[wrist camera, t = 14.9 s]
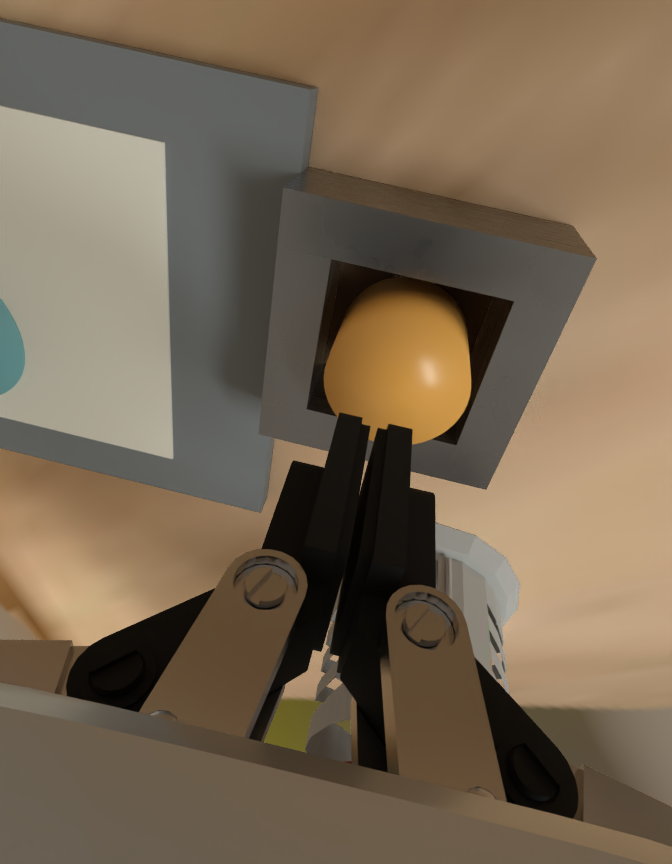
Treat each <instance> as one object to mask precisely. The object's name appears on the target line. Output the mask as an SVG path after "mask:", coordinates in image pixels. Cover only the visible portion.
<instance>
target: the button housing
mask: <svg viewBox="0 0 672 864" xmlns="http://www.w3.org/2000/svg"><path fill="white" fill-rule="evenodd" d="M596 259H597V258H596V257H595V255H594V254H593V253H592V251H591V250H590V249H589V247H588V246H587V244H586V243H585V242H584V240H583V239H582V238H581V236H580V235H579V233H578V232H577V231H576V229H575V228H574V227H573V226H570V225H566V224H561V223H557V222H552V221H548V220H543V219H539V218H534V217H530V216H525V215H521V214H517V213H512V212H508V211H503V210H499V209H494V208H490V207H485V206H481V205H476V204H472V203H468V202H463V201H459V200H454V199H450V198H445V197H441V196H436V195H432V194H428V193H423V192H419V191H414V190H410V189H405V188H401V187H396V186H392V185H387V184H383V183H379V182H374V181H370V180H365V179H361V178H356V177H352V176H347V175H343V174H339V173H334V172H330V171H325V170H321V169H316V168H312V167H307V168H306V169H305V170H304V171H302V172H301V173H300V174H299V175H298V176H296V177H295V178H294V179H293V180H292V181H290V182H289V183H288V184H287V185H286V186H284V187H283V194H282V204H281V214H280V224H279V234H278V244H277V254H276V264H275V274H274V284H273V294H272V304H271V314H270V324H269V334H268V344H267V354H266V363H265V373H264V383H263V393H262V403H261V413H260V423H259V433H258V434H260V435H264V436H268V437H272V438H276V439H280V440H284V441H288V442H293V443H297V444H301V445H305V446H309V447H313V448H317V449H321V450H325V451H329V449H330V446H331V442H332V438H333V434H334V430H335V427H336V423H337V419H338V417H337V416H336V414H335V413H334V411H333V410H332V408H331V406H330V404H329V402H328V400H327V397H326V393H325V388H324V371H325V365H324V360H325V355H326V349H327V344H328V338H329V332H330V327H331V321H332V316H333V310H334V305H335V299H336V293H337V288H338V282H339V277H340V271H341V265H342V262H346V263H350V264H355V265H359V266H363V267H368V268H372V269H376V270H381V271H385V272H389V273H394V274H398V275H402V276H407V277H411V278H415V279H420V280H424V281H428V282H433V283H437V284H441V285H446V286H450V287H454V288H459V289H463V290H467V291H472V292H476V293H480V294H485V295H489V296H492V299H491V302H490V304H489V307H488V310H487V313H486V315H485V318H484V321H483V323H482V326H481V329H480V331H479V334H478V337H477V339H476V342H475V345H474V347H473V350H472V353H471V356H470V370H471V393H470V398H469V401H468V404H467V406H466V408H465V410H464V412H463V414H462V415H461V417H460V418H459V419H458V420H457V422H456V423H455V424H454V425H453V426H452V427H450V428H449V429H448V430H447V431H445V432H444V433H442V434H441V435H439V436H437V437H435V438H433V439H431V440H428V441H425V442H422V443H417V444H412V454H411V471H412V472H416V473H420V474H424V475H428V476H432V477H436V478H440V479H445V480H449V481H453V482H457V483H461V484H465V485H469V486H473V487H477V488H482V489H487V487H488V485H489V483H490V481H491V479H492V476H493V474H494V472H495V470H496V468H497V466H498V464H499V462H500V460H501V458H502V456H503V454H504V451H505V449H506V447H507V445H508V443H509V441H510V439H511V437H512V435H513V433H514V431H515V428H516V426H517V424H518V422H519V420H520V418H521V416H522V414H523V412H524V410H525V408H526V405H527V403H528V401H529V399H530V397H531V395H532V393H533V391H534V389H535V387H536V385H537V382H538V380H539V378H540V376H541V374H542V372H543V370H544V368H545V366H546V364H547V362H548V359H549V357H550V355H551V353H552V351H553V349H554V347H555V345H556V343H557V341H558V339H559V336H560V334H561V332H562V330H563V328H564V326H565V324H566V322H567V320H568V318H569V316H570V313H571V311H572V309H573V307H574V305H575V303H576V301H577V299H578V297H579V295H580V293H581V290H582V288H583V286H584V284H585V282H586V280H587V278H588V276H589V274H590V272H591V270H592V268H593V265H594V263H595V261H596ZM373 443H374V441H371V440H369V439H368V445H367V451H366V457H365V460H367V461H369V457H370V454H371V450H372V447H373Z"/></svg>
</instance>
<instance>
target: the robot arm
mask: <svg viewBox="0 0 672 864" xmlns="http://www.w3.org/2000/svg"><path fill="white" fill-rule="evenodd" d="M362 419H363V418H362V417H358V416H354V415H349V414H345V413H341V412H339V415H338V419H337V423H336V427H335V430H334V434H333V438H332V442H331V446H330V449H329V453H328V457H327V461H326V464H325V468H323V467H319V466H315V465H310V464H306V463H302V462H297V461H293V462H292V464H291V466H290V469H289V472H288V475H287V478H286V481H285V483H284V486H283V489H282V492H281V495H280V498H279V501H278V503H277V506H276V509H275V512H274V515H273V518H272V520H271V523H270V526H269V529H268V532H267V535H266V538H265V540H264V543H263V546H262V549H257V550H254V551H250V552H246V553H245V554H243V555H241V556H240V557H238V558H236V559H235V560H234V561H233V563H232V564H231V565H230V566H229V567H228V569H227V570H226V572H225V574H224V575H223V577H222V578H221V580H220V582H219V583H218V585H217V587H216V588H214V589H212V590H210V591H208V592H205V593H203V594H201V595H199V596H196V597H194V598H192V599H190V600H187V601H185V602H183V603H181V604H178V605H176V606H174V607H172V608H169V609H167V610H165V611H163V612H160V613H158V614H156V615H154V616H152V617H149V618H147V619H145V620H143V621H140V622H138V623H136V624H134V625H131V626H129V627H127V628H125V629H122V630H120V631H118V632H116V633H113V634H111V635H109V636H107V637H104V638H102V639H101V640H99V641H97V642H96V643H94V644H92V645H91V646H73V643H72V640H0V864H672V807H671V806H669V805H667V804H665V803H663V802H660V801H658V800H656V799H654V798H652V797H650V796H648V795H646V794H644V793H642V792H640V791H638V790H636V789H634V788H632V787H630V786H628V785H626V784H623V783H621V782H619V781H617V780H615V779H613V778H611V777H609V776H607V775H605V774H603V773H601V772H599V771H596V770H595V769H593V768H590V767H589V766H586V765H583V766H581V767H580V768H577V767H575V766H573V765H571V764H569V763H568V762H567V760H566V759H565V757H564V756H563V755H562V753H561V752H560V751H559V749H558V748H557V747H556V746H555V745H554V744H553V742H551V740H550V739H549V738H548V737H547V736H546V735H545V734H544V733H543V731H542V730H541V729H540V728H539V727H538V726H537V725H536V724H535V723H534V722H533V720H532V719H531V718H530V717H529V716H528V715H527V714H526V713H525V712H524V711H523V709H522V708H521V707H520V706H519V705H518V704H517V703H516V702H515V701H514V700H513V698H512V697H511V696H510V695H509V694H508V693H507V692H506V691H505V690H504V689H503V687H502V686H501V685H500V684H499V683H498V682H497V681H496V680H495V679H494V677H493V676H492V675H491V674H490V673H489V672H488V671H487V670H486V669H485V668H484V666H483V665H482V664H481V663H480V662H479V661H478V660H477V659H476V658H475V657H474V653H473V648H472V644H471V640H470V635H469V631H468V626H467V623H466V620H465V617H464V615H463V612H462V611H461V610H460V608H459V607H458V606H457V604H456V603H455V602H454V601H453V600H452V599H451V598H450V597H448V596H447V595H446V594H445V593H443V592H441V591H439V590H437V589H436V542H435V495H434V493H431V492H426V491H422V490H418V489H414V488H410V473H411V454H412V434H413V430H412V429H410V428H406V427H402V426H397V425H393V424H388V426H387V429H382V428H378V429H377V432H376V436H375V439H374V443H373V447H372V450H371V454H370V457H369V461H368V465H367V468H366V472H365V476H364V479H363V483H362V487H361V490H360V486H361V480H362V474H363V468H364V462H365V457H366V451H367V445H368V439H369V433H370V427H371V426H369V425H364V424H362ZM359 492H360V494H359ZM341 581H342V583H341ZM340 585H341V589H340V595H339V601H338V606H337V612H336V618H335V624H334V630H333V635H332V641H331V647H330V654H333V655H337V656H339V660H338V666H337V673H341V674H340V679H341V681H342V682H343V684H344V685H345V687H346V688H347V689H348V691H349V692H350V694H351V695H352V699H351V706H350V712H351V762H352V764H350V763H346V762H342V761H338V760H334V759H330V758H326V757H321V756H317V755H313V754H309V753H305V752H301V751H296V750H293V749H288V748H284V747H280V746H276V745H272V744H268V743H264V739H265V737H266V734H267V732H268V729H269V727H270V724H271V722H272V719H273V717H274V714H275V712H276V709H277V707H278V704H279V702H280V699H281V697H282V694H283V692H284V689H285V684H286V683H288V682H289V681H291V680H293V679H294V678H296V677H297V676H299V675H301V674H302V673H304V672H306V671H307V670H308V666H309V662H310V658H311V655H312V651H313V650H316V651H320V652H321V651H322V648H323V644H324V641H325V637H326V634H327V630H328V627H329V623H330V620H331V616H332V613H333V609H334V606H335V602H336V599H337V595H338V592H339V588H340Z"/></svg>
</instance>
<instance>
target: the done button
mask: <svg viewBox="0 0 672 864" xmlns="http://www.w3.org/2000/svg"><path fill="white" fill-rule="evenodd" d="M324 388H325V393H326V397H327V400H328V402H329V404H330V406H331V408H332V410H333V411H334V413H335V414H336V416H337V417H338V415H339V412H341V413H345V414H349V415H354V416H358V417H362V418H363V419H362V424H364V425H369V426H371V427H370V433H369V440H371V441H374V439H375V436H376V432H377V429H378V428H382V429H387V426H388V424H393V425H397V426H402V427H406V428H410V429H412V430H413V434H412V444H417V443H422V442H425V441H428V440H431V439H433V438H435V437H437V436H439V435H441V434H442V433H444V432H445V431H447V430H448V429H449V428H450V427H452V426H453V425H454V424H455V423H456V422H457V420H458V419H459V418H460V417H461V415H462V414H463V412H464V410H465V408H466V406H467V404H468V401H469V398H470V393H471V370H470V356H469V343H468V330H467V324H466V320H465V317H464V314H463V312H462V310H461V308H460V307H459V305H458V304H457V302H456V301H455V300H454V299H453V297H452V296H451V295H450V294H448V293H447V292H446V291H445V290H444V289H442V288H441V287H439V286H437V285H436V284H433V283H431V282H428V281H424V280H420V279H415V278H411V277H395V278H390V279H385V280H382V281H380V282H377V283H375V284H373V285H371V286H369V287H368V288H366V289H365V290H363V291H362V292H361V293H360V294H359V295H358V296H357V297H356V298H355V299H354V300H353V301H352V303H351V304H350V306H349V307H348V309H347V311H346V313H345V316H344V318H343V321H342V323H341V326H340V329H339V331H338V334H337V336H336V339H335V342H334V344H333V347H332V349H331V352H330V355H329V357H328V360H327V363H326V366H325V371H324Z"/></svg>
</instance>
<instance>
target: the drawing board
mask: <svg viewBox="0 0 672 864" xmlns="http://www.w3.org/2000/svg"><path fill="white" fill-rule="evenodd" d="M317 92H318V87H313V86H308V85H304V84H299V83H295V82H290V81H286V80H281V79H276V78H272V77H267V76H263V75H258V74H254V73H249V72H245V71H240V70H235V69H231V68H226V67H222V66H217V65H213V64H208V63H203V62H199V61H194V60H190V59H185V58H181V57H176V56H172V55H167V54H162V53H158V52H153V51H149V50H144V49H140V48H135V47H131V46H126V45H121V44H117V43H112V42H108V41H103V40H99V39H94V38H89V37H85V36H80V35H76V34H71V33H67V32H62V31H58V30H53V29H48V28H44V27H39V26H35V25H30V24H26V23H21V22H16V21H12V20H7V19H3V18H0V448H2V449H6V450H10V451H14V452H18V453H22V454H26V455H30V456H34V457H38V458H42V459H46V460H50V461H54V462H58V463H62V464H66V465H70V466H74V467H78V468H82V469H87V470H91V471H95V472H99V473H103V474H107V475H111V476H115V477H119V478H123V479H127V480H131V481H135V482H139V483H143V484H147V485H151V486H155V487H159V488H163V489H167V490H171V491H175V492H179V493H183V494H187V495H191V496H195V497H199V498H203V499H207V500H211V501H215V502H219V503H223V504H227V505H231V506H235V507H239V508H243V509H247V510H251V511H255V512H259V513H261V511H262V509H263V506H264V504H265V501H266V499H267V493H268V485H269V477H270V469H271V461H272V453H273V445H274V438H272V437H268V436H264V435H260V434H258V433H259V423H260V413H261V403H262V393H263V383H264V373H265V363H266V354H267V344H268V334H269V324H270V314H271V304H272V294H273V284H274V274H275V264H276V254H277V244H278V234H279V224H280V214H281V204H282V194H283V187H284V186H286V185H287V184H288V183H289V182H290V181H292V180H293V179H294V178H295V177H296V176H298V175H299V174H300V173H301V172H302V171H304V170H305V169H306V168H307V167H308V164H309V156H310V148H311V140H312V132H313V124H314V116H315V108H316V100H317Z"/></svg>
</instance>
